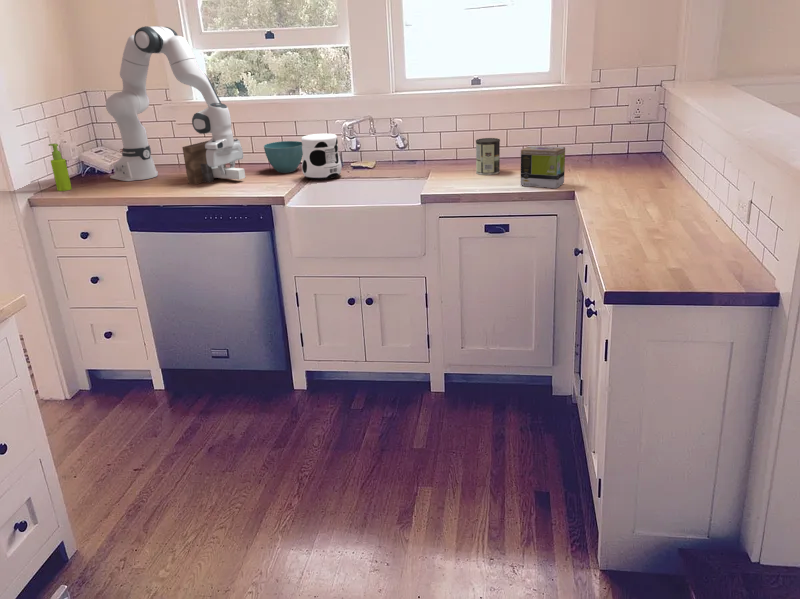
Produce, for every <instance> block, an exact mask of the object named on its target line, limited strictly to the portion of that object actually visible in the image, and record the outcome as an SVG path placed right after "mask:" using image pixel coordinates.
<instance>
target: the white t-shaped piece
mask: <svg viewBox="0 0 800 599" xmlns="http://www.w3.org/2000/svg"><path fill="white" fill-rule="evenodd" d="M211 168H212V175H213V177H215V179H217V178H218V179H228V180H229V179H230V180H238V181H239V180H242V179H245V178H246V173H245V172H246V171H245V168H241V167H234V168H230V166H229V167H227V166H226V167H223V168H224V170H226V174H224V175H221V171H220V169H219V168H218V166H216V167H211Z"/></svg>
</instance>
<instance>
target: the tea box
mask: <svg viewBox="0 0 800 599" xmlns="http://www.w3.org/2000/svg"><path fill="white" fill-rule="evenodd" d="M565 164H566V146H549V145H548V146H547V145H546V146H544V145H543V146H542V145H528V146H526V147H524V148H522V149H521V150H520V186H521V185H523V186H522V187H530V186H537V187H536V188H544V187H547V188H546V189H558V188H559V187H561V186H562V185H564V184H563V183H565V168H566V167H565ZM560 185H561V186H560Z"/></svg>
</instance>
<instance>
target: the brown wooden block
mask: <svg viewBox="0 0 800 599" xmlns="http://www.w3.org/2000/svg"><path fill="white" fill-rule="evenodd" d="M210 140H211V139H210ZM210 140H206V141H202V142H197V143H194V144H189V145H186V146H181V148H182V154H183V159H184V165H185V166H184V167H185V171H186V172H185V173H186V178H187V183H188V184H192V185H198V184H201V183H212V182H214V179H216V178H215V177H213V175H212V168H211V167H209V166H208V164H207V160H206V150H207V149H206V148H205V144H206V143H207V142H208V141H210ZM223 165H224V167H227V166H226V164H223Z"/></svg>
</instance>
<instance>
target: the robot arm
mask: <svg viewBox="0 0 800 599" xmlns="http://www.w3.org/2000/svg"><path fill="white" fill-rule="evenodd" d="M152 54H157V55H159V54H164V56H166V58H167V60H168V62H169V65H170V68H171V71H172V74H173V76H174V78H176V80H177V81H178V82H180V83H181V84H184V85H186V86H189V87H193V88H194V89H197V90H198V91H199V93H201V95H202V97H203V99H204V102H205V103H206V105H207V107H206V108H204V109H202V110H200V111H198V112H195V113H194V114H193V115H192V118H191V125H192V127H193V129H194V130H195V132H196V133H198V134H200V135H202V134H203V135H206V134H211V139H210V141H209V140H207V141H208V142H207V143H206V144H205V148H206V149H207V150H206V160H207V164H208V166H209V167H216V166H218V168H219V169H220V171H221V175H224V174H226V170H224V168H223V167H224V165H223V164H230V165H229V168H235V166H236V162H237V161H240V160H242V159H243V158H244V151H243V148H242V144H241V141H240V140H239V139H238V138H234V133H233V130H232V118H231V113H230V110H229V106H228V105H226V104H225V103H222V102H221V99H220V98H219V95H218V94H217V92H216V89H215V87H214V85H213V84H212V82H211V80H210V78H209V77H208V75H207V74H206V73H204V72H203V70H202V69H201V67H200V65H199V64H198V62H197V59H196V56H195V54H194V51H193V49H192V48H191V46H190V44H189V42H188V40H187V39H186V38H185V37H184V36H181V35H179V34H178V33H177V32H176V31H175V29H173V28H171V27H168V26H161V25H153V26H151V25H150V26H142V27H138V29H137V30H136V31H135V33H134V34H131V35H130V36H129V37H128V38H127V41H126V42H125V46H124V50H123V53H122V59H121V64H120V71H119V78H121V80H122V81H121V82H122V90H121V91H118V92H114V93H113V94H111V95H109V96H108V98H106V101H105V109H106V111H107V113H108V114H109V115H110V116H111V117H112V118H113V119H114V121H115V123H116V125H117V126H118V127H117V128H118V130H119V133H120V136H121V142H122V148H120V149H119V150H120V151H119V152H120V153H121V157H120V158H119V159H118V160H117V161H116V162H115V164H114V165H113V166H114V169H113V170H114V173H113V174H112V175H110V176H109V178H110V179H112V180H117V181H118V180H119V181H121V182H133V181H141V180H148V179H153V178H156V177H158V173H159V172H158V170H157V168H156V166H155V162H154V158H153V156H152V155H151V154H152V150H151V146H150V145H149V139H148V135H147V129H146V127H145V126H144V125H143V124H142V123H141V121H140V118H139V114H142V113H143V112H145V111H146V110H147V109H148V108H149V106H150V98H149V96H148V93H147V78H148V72H149V66H150V61H151V57H152Z"/></svg>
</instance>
